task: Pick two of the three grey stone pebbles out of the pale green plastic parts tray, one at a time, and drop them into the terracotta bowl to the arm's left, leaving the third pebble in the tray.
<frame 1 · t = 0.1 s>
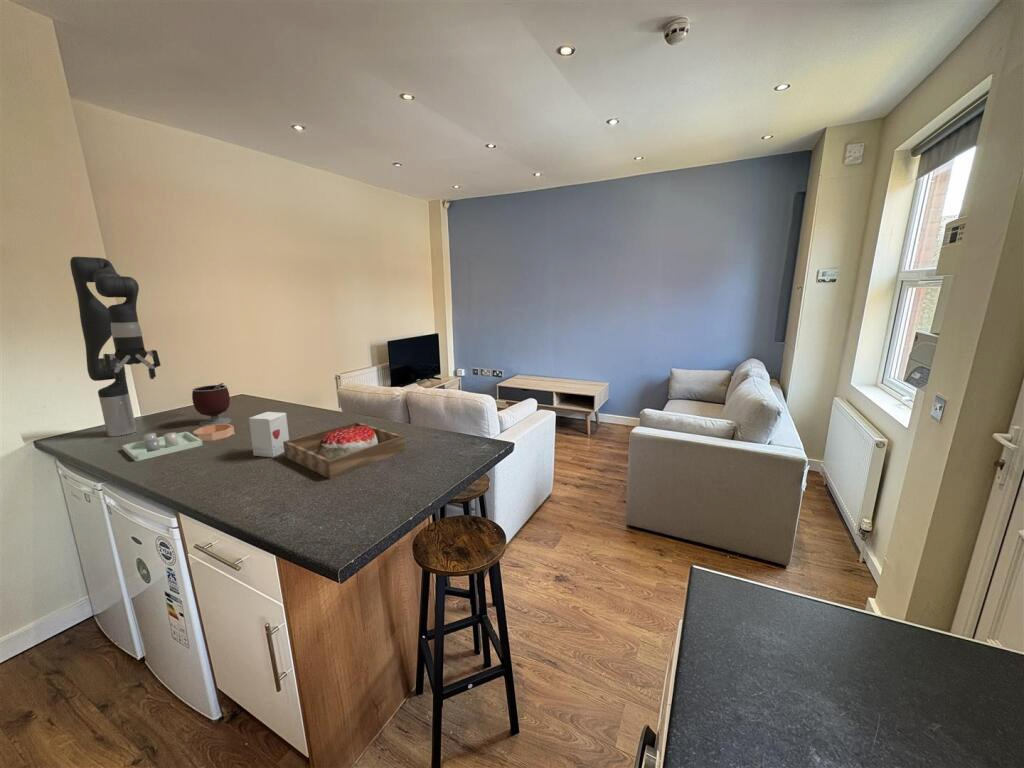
hand: (136, 380, 143), 29 cm above the countertop, fingers open, 8 cm apart
mate gourd: (216, 423, 189), on the countertop
supplement box: (272, 453, 154), on the countertop
pebble a: (151, 446, 156), point 1 cm above the countertop, touching tray
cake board: (346, 453, 152), on the countertop
pebble b: (172, 445, 157), point 1 cm above the countertop, touching tray
bowl: (215, 437, 169), on the countertop
pebble c: (154, 453, 149), point 1 cm above the countertop, touching tray
cake: (345, 455, 152), resting in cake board
tray: (164, 449, 156), on the countertop
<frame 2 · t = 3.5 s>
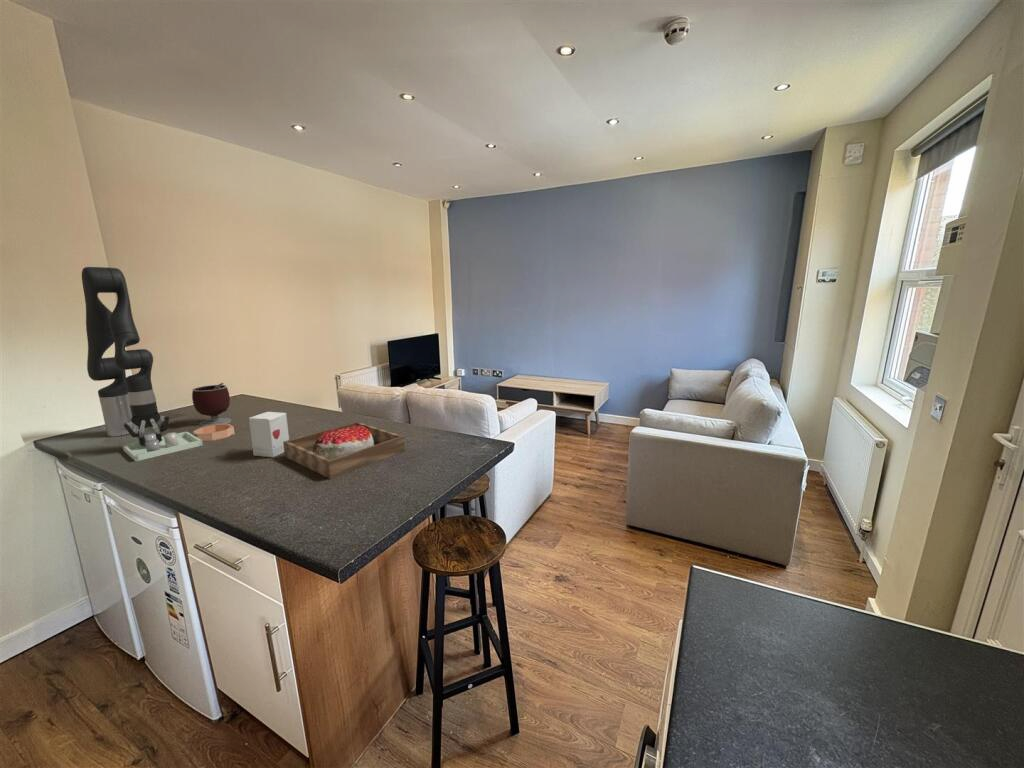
hand: (151, 444, 156), 2 cm above the countertop, fingers closed on pebble a, 3 cm apart
pebble a: (151, 446, 156), point 1 cm above the countertop, touching gripper, tray
cake: (341, 454, 153), resting in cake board
everything else where it was.
when the fingers open (5 cm above the countertop, at t = 7.6 s): pebble a drops 3 cm, resting on bowl.
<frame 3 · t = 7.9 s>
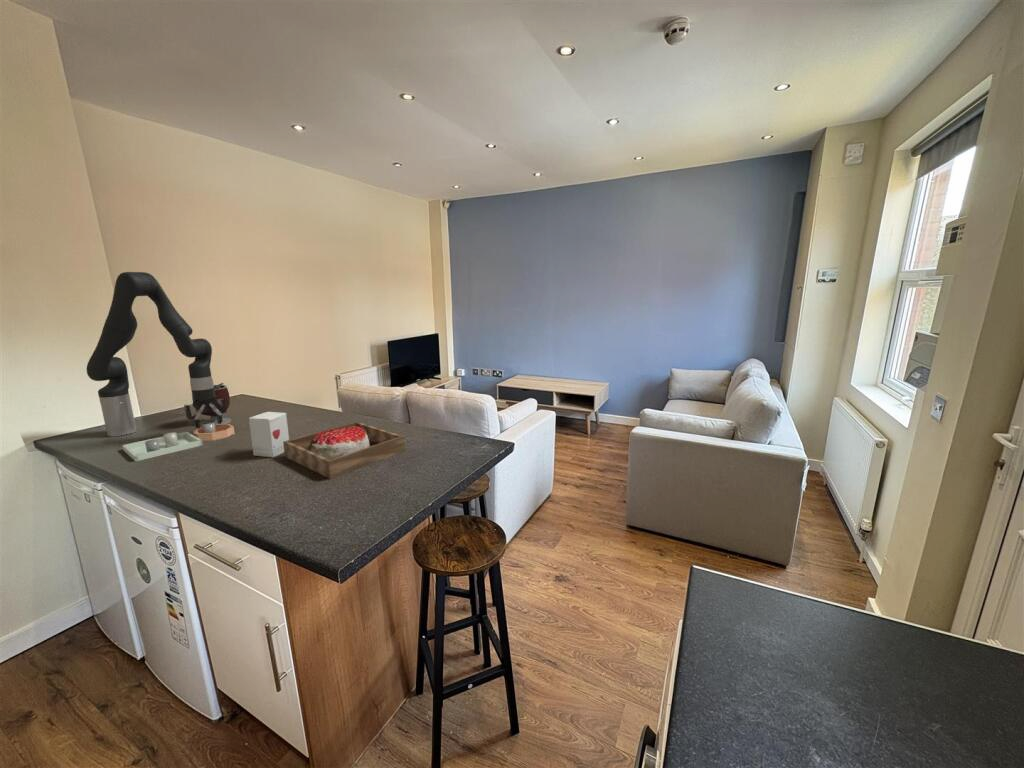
hand: (208, 425, 168), 5 cm above the countertop, fingers open, 7 cm apart
pebble a: (210, 435, 169), point 1 cm above the countertop, touching bowl
cake: (336, 455, 152), resting in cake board
everything else where it was.
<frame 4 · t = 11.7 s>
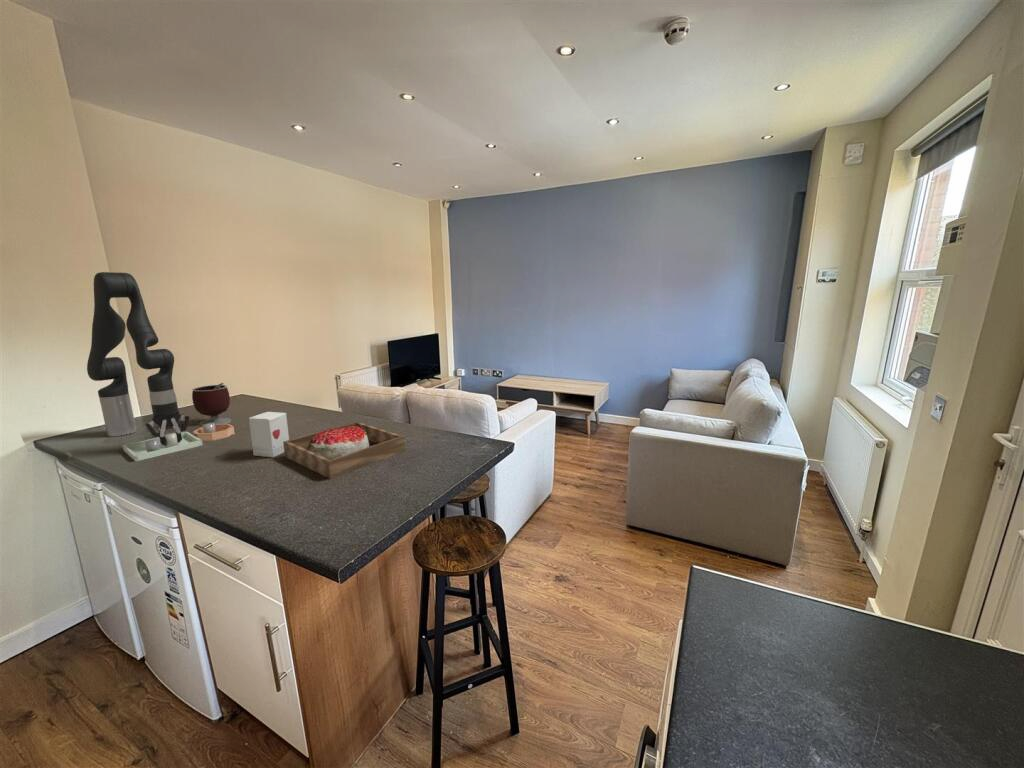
hand: (171, 443, 157), 2 cm above the countertop, fingers closed on pebble b, 3 cm apart
pebble b: (172, 445, 157), point 1 cm above the countertop, touching gripper, tray
when the fingers open (5 cm above the countertop, at t = 15.9 s): pebble b drops 3 cm, resting on bowl.
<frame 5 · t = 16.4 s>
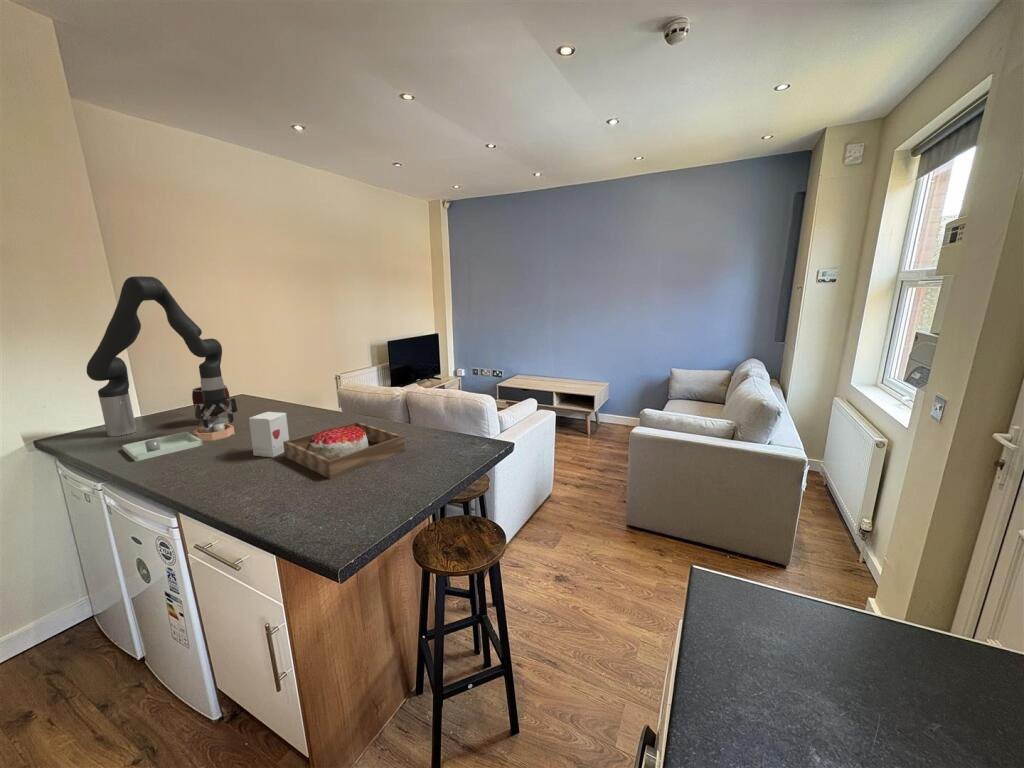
hand: (218, 425, 168), 6 cm above the countertop, fingers open, 8 cm apart
pebble b: (220, 435, 169), point 1 cm above the countertop, touching bowl
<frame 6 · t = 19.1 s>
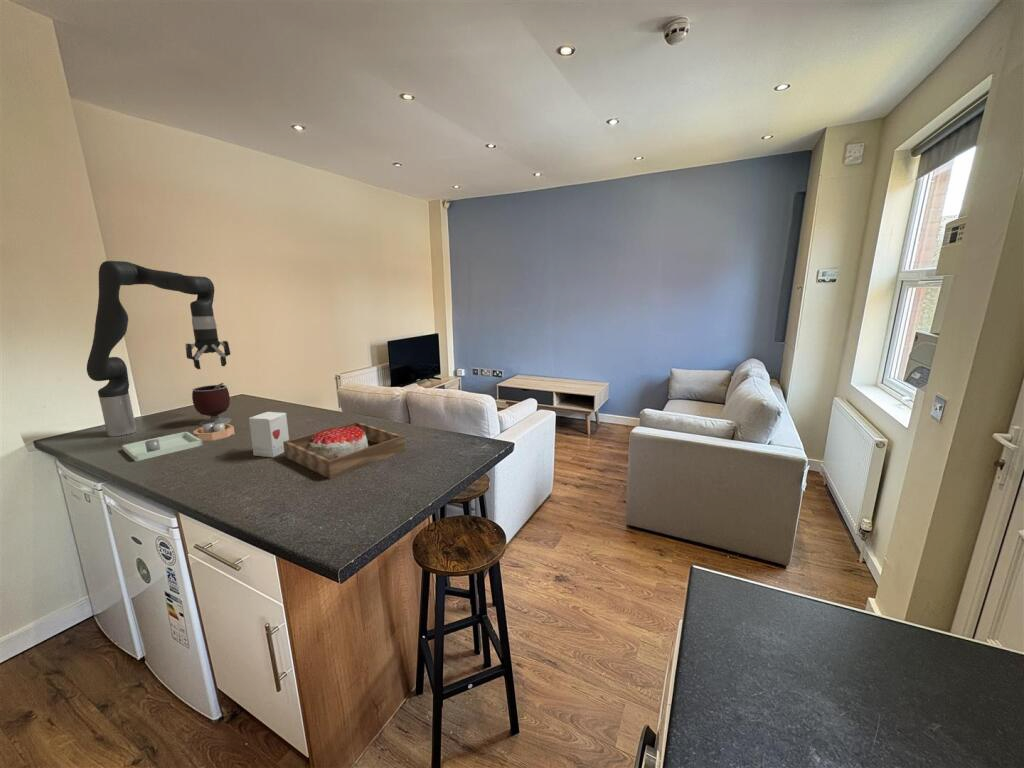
hand: (211, 367, 163), 30 cm above the countertop, fingers open, 8 cm apart
at the end: pebble a inside the target area on the bowl (1.8 cm from its centre), point 1.0 cm above the bowl's base; pebble b inside the target area on the bowl (2.4 cm from its centre), point 1.0 cm above the bowl's base; pebble c moved 0.0 cm from its start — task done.
